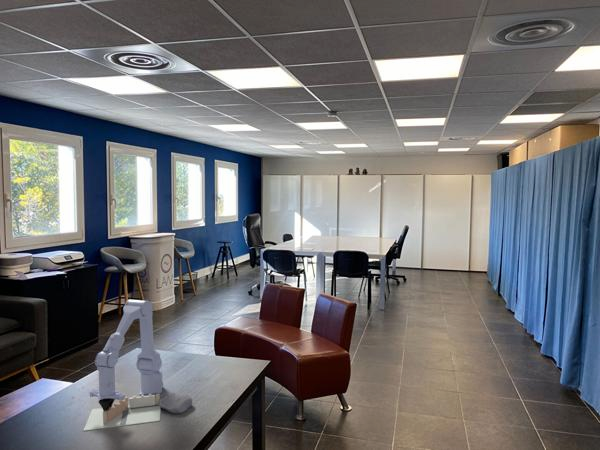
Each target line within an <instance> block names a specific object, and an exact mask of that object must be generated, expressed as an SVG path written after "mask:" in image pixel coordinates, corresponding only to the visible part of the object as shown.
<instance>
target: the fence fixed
mask: <svg viewBox="0 0 600 450" xmlns="http://www.w3.org/2000/svg"><path fill="white" fill-rule="evenodd" d="M124 400H125V403H126V409H128V405H129V406H130V408H136V407H144V406H152V405H155V402H156V405H157V406H158V405H159V403H160V400H161V393H155V394H148V395H139V396H137V395H133V396H132V397H131V396H130V397H128V396H125V399H124Z"/></svg>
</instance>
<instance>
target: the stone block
mask: <svg viewBox="0 0 600 450" xmlns="http://www.w3.org/2000/svg"><path fill="white" fill-rule="evenodd" d="M192 405H193V398H192V396H190V395H189V394H177V393H175V392H172V393H170V394H168V395H165V396H164V397H162V398H160V403H159V406H160V407H161V409H163V410H166V411H167V412H170V413H172V414H182V413H184V412H186V411H187V410H188V409H189V408H191V406H192Z"/></svg>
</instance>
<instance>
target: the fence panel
mask: <svg viewBox="0 0 600 450" xmlns="http://www.w3.org/2000/svg"><path fill="white" fill-rule="evenodd" d="M124 410H126V403H125V399H124V400H122V401H120V400H118V402H117V403H113V405H112V407H109V409H108V410H107V411H103V424H106V423H107V422H108V421H110V420H112V419H113V418H114V417H116V416H117V415H119V414H120V413H121V412H123V411H124Z"/></svg>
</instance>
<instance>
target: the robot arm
mask: <svg viewBox="0 0 600 450" xmlns="http://www.w3.org/2000/svg"><path fill="white" fill-rule="evenodd" d="M122 311H123V315H122V317H121V319H120V322H119V324H118V326H117V329H116V331H115V332H114V333H112V334H110V337H109V338H108V339H107V342H106V344H105V346H104V347H103V349H102V351H100V352H98V353H97V354H96V356H95V360H94V364H95V366H96V368H97V371H98V389H93V390H90V392H89V397H90V398H93V397H95V398H98V404H99V405H100V406H101V408H102V409H103V411H107V410H108V409H109V407H113V405H114V402H115V400H118V401H122V400H125V397H126V395H125V393H121V392H120V391H117V390H116V374H115V373H116V367H115V366H116V365H117V364H118V361H119V356H120V350H121V349H122V346H123V344H124V343H125V335H126V333H127V332H128V330H129V328H130V326H131V325H132V324H133V322H134V320H138V319H139V331H140V332H139V333H140V334H139V335H140V348H141V349H140V350H141V351H140V352H139V353H138V355H137V356H136V357H137V358H136V369H137V370H138V371H139V372H138V373H140V389H139V393H138V395H139V396H141V395H144V396H146V395H149V394H151V395H155V394H157V393H160V394H161V393H163V387H164V382H163V369H161V368H162V359H161V354H160V353H159V352H158V351H157V350H156V349H155V343H154V341H155V340H154V327H153V326H154V325H153V323H154V322H153V315H154V314H153V302H151V301H149V300H141V299H131V298H129V299H128V300H126V302H125V304H124V306H123V308H122Z"/></svg>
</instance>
